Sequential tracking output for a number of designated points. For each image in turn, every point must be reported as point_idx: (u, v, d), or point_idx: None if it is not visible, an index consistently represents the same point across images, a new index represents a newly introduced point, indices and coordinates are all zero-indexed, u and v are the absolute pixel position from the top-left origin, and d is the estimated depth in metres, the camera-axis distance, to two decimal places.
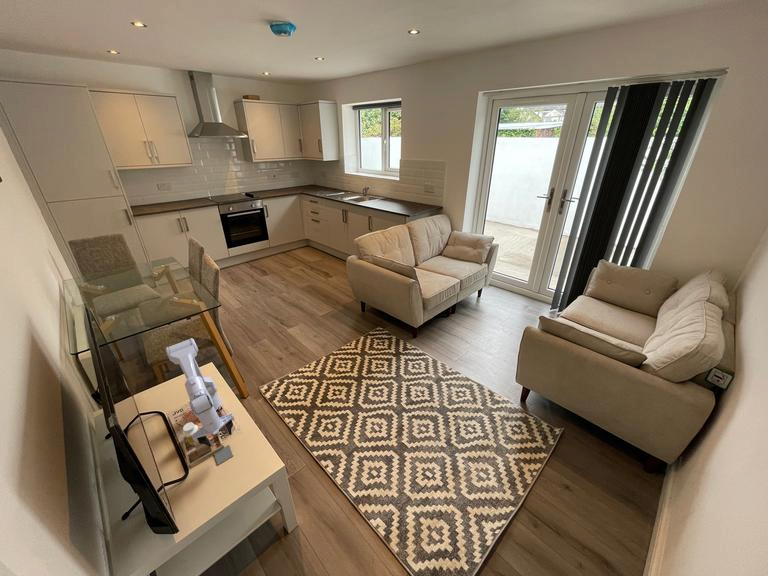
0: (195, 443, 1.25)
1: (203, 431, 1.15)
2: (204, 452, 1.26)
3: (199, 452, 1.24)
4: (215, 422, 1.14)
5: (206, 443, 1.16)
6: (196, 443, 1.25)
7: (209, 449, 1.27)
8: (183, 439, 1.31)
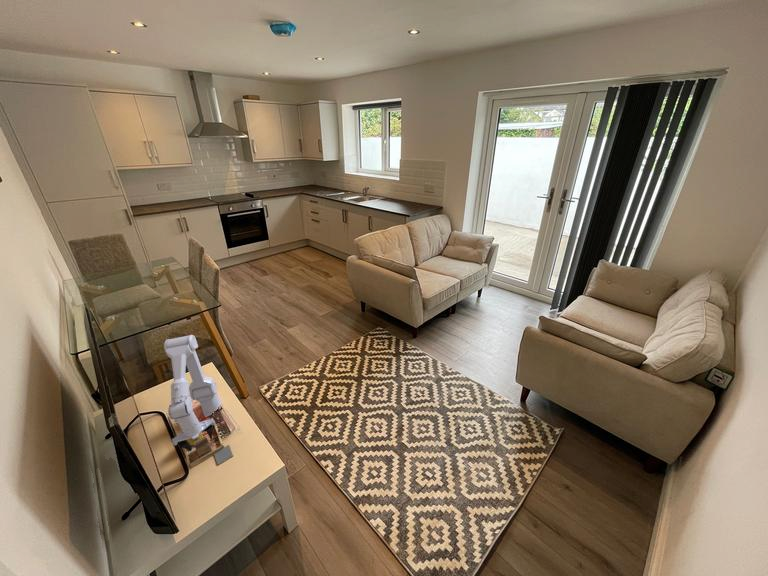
0: (195, 443, 1.25)
1: (183, 435, 1.19)
2: (204, 452, 1.26)
3: (199, 452, 1.24)
4: (195, 427, 1.17)
5: (186, 447, 1.20)
6: (196, 443, 1.25)
7: (209, 449, 1.27)
8: None
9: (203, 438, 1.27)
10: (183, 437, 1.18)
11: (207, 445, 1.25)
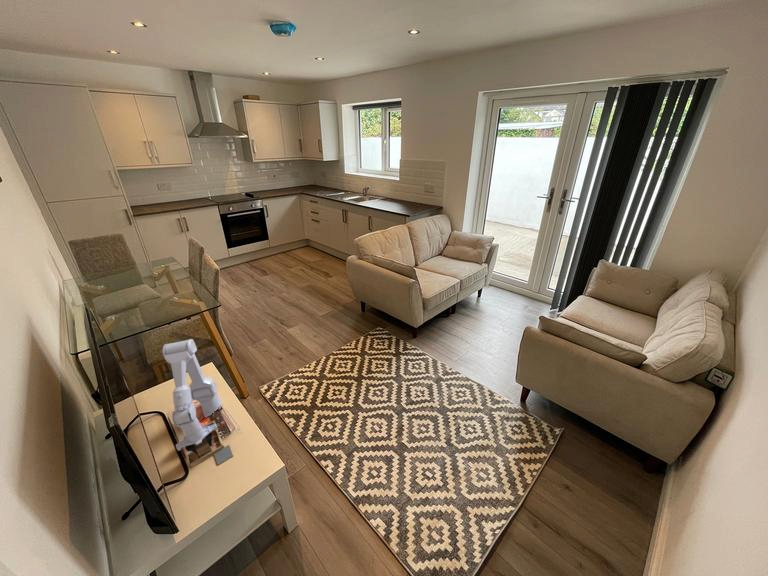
0: None
1: (187, 441, 1.21)
2: (204, 452, 1.26)
3: (199, 452, 1.24)
4: (198, 432, 1.19)
5: (193, 450, 1.23)
6: None
7: (209, 449, 1.27)
8: None
9: None
10: (187, 442, 1.20)
11: (207, 445, 1.25)
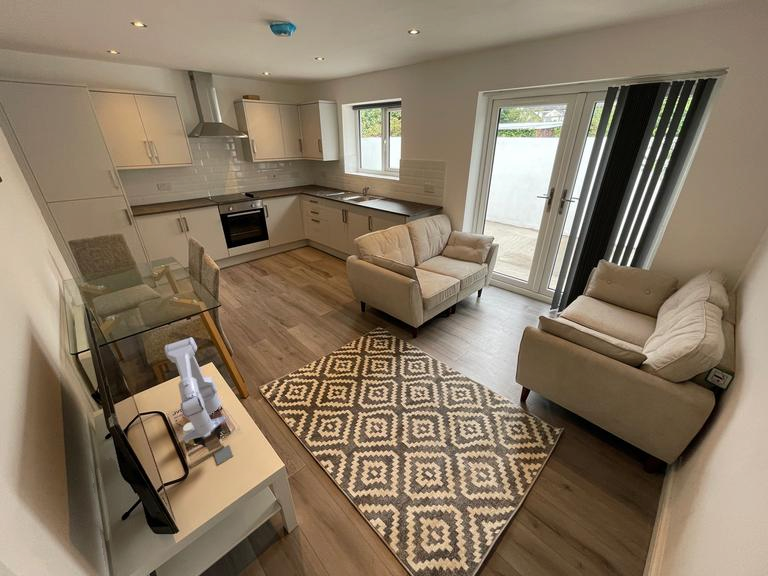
0: (203, 436, 1.19)
1: (195, 433, 1.15)
2: (213, 446, 1.20)
3: (208, 446, 1.18)
4: (207, 424, 1.14)
5: (201, 443, 1.17)
6: None
7: (218, 443, 1.21)
8: (183, 439, 1.31)
9: (212, 431, 1.21)
10: (195, 435, 1.15)
11: (216, 438, 1.19)
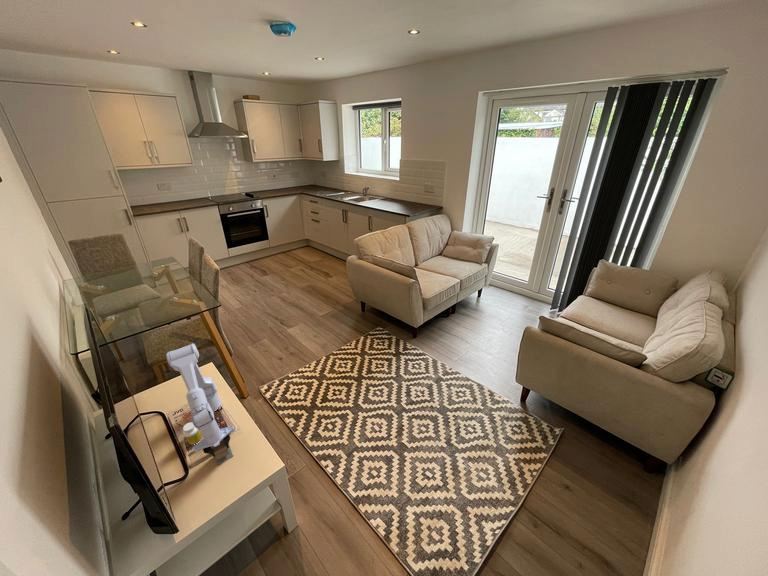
0: None
1: (204, 443, 1.18)
2: (221, 455, 1.23)
3: (217, 455, 1.21)
4: (216, 434, 1.17)
5: (211, 453, 1.20)
6: (213, 446, 1.22)
7: (226, 452, 1.24)
8: (183, 439, 1.31)
9: None
10: (204, 445, 1.17)
11: (225, 448, 1.22)
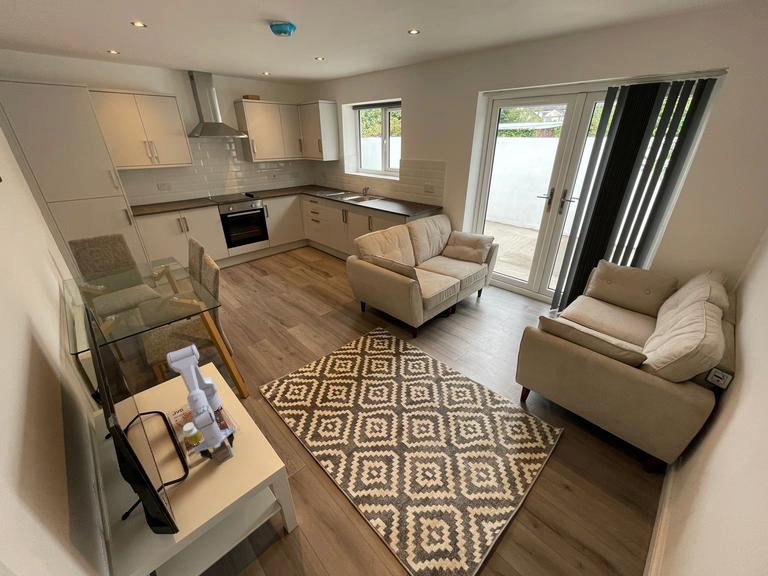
0: (213, 447, 1.23)
1: (205, 444, 1.18)
2: (222, 456, 1.24)
3: (218, 457, 1.22)
4: (217, 436, 1.17)
5: (208, 456, 1.20)
6: None
7: (227, 453, 1.25)
8: (183, 439, 1.31)
9: (221, 442, 1.25)
10: (205, 446, 1.18)
11: (226, 449, 1.23)
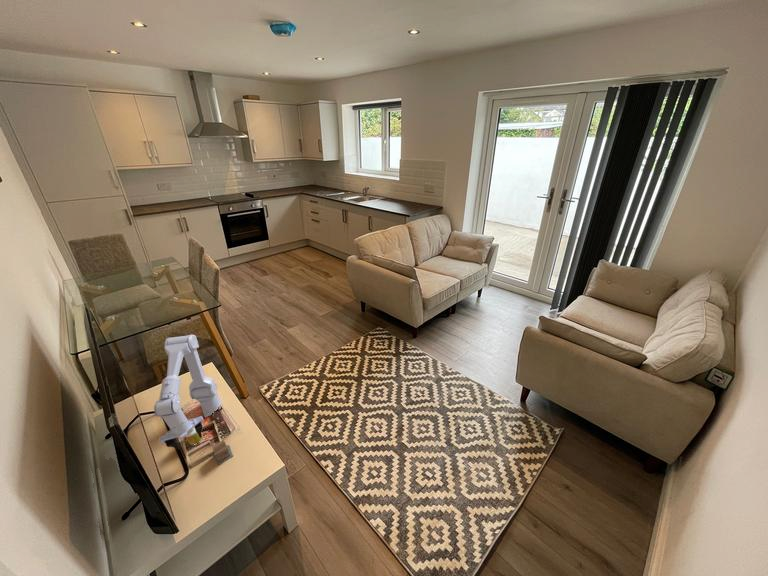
0: (213, 447, 1.23)
1: (171, 434, 1.14)
2: (222, 456, 1.24)
3: (218, 457, 1.22)
4: (183, 425, 1.13)
5: (174, 446, 1.16)
6: (214, 447, 1.23)
7: (227, 453, 1.25)
8: (183, 439, 1.31)
9: (221, 442, 1.25)
10: (171, 435, 1.14)
11: (226, 449, 1.23)
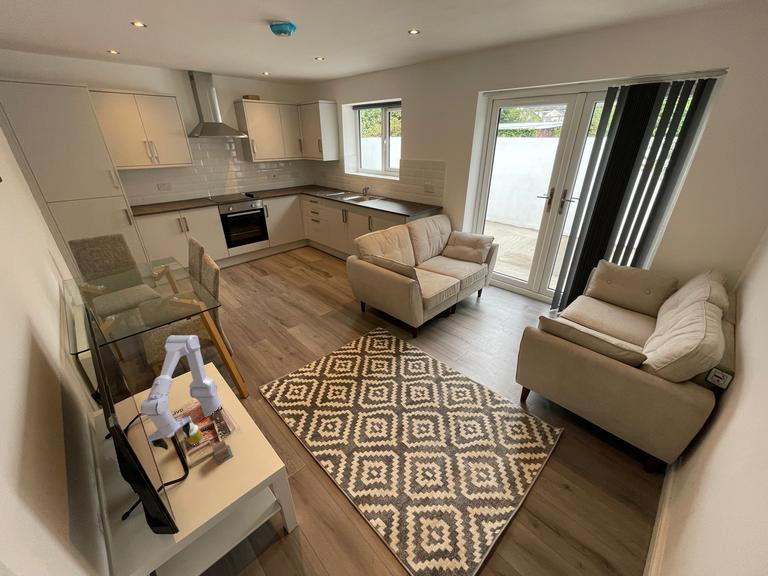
0: (213, 447, 1.23)
1: (158, 434, 1.14)
2: (222, 456, 1.24)
3: (218, 457, 1.22)
4: (170, 425, 1.13)
5: (162, 446, 1.16)
6: (214, 447, 1.23)
7: (227, 453, 1.25)
8: (183, 439, 1.31)
9: (221, 442, 1.25)
10: (158, 435, 1.14)
11: (226, 449, 1.23)
